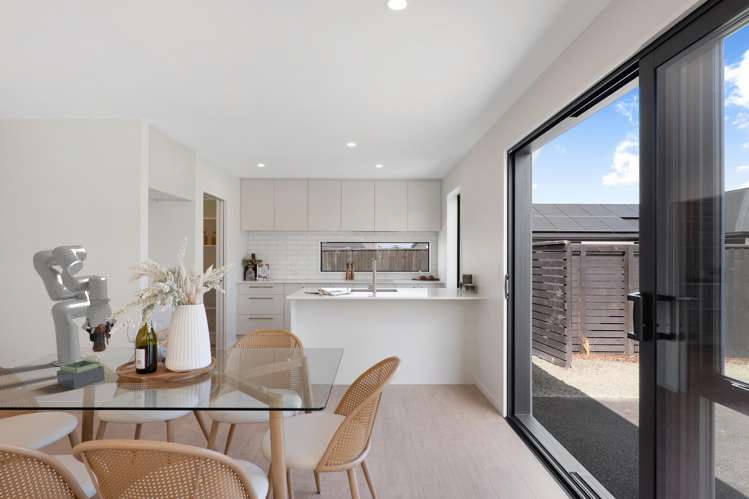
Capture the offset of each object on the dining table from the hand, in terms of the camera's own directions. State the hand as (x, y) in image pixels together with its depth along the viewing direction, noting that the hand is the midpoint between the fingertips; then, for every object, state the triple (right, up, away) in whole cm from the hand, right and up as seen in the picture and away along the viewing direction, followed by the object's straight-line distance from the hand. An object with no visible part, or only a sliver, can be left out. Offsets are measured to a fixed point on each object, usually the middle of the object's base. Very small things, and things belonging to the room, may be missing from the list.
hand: (100, 339), depth 201 cm
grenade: (0, -6, 0) cm, 6 cm away
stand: (+4, -15, -18) cm, 24 cm away
